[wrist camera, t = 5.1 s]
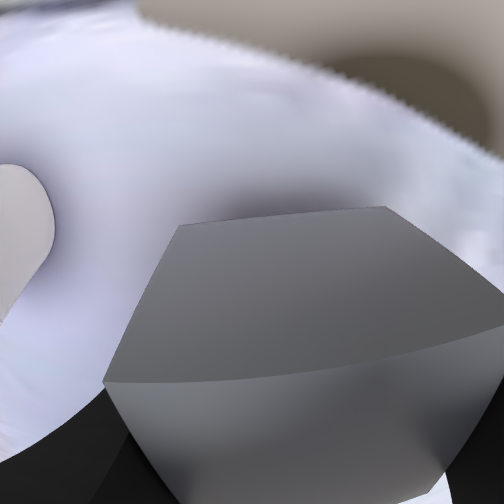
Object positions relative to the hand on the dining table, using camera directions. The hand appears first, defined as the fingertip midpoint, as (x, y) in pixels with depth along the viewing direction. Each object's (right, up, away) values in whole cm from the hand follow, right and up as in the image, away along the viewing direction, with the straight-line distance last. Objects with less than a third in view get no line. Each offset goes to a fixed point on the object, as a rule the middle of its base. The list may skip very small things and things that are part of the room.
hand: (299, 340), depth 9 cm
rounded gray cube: (0, +1, +1) cm, 2 cm away
